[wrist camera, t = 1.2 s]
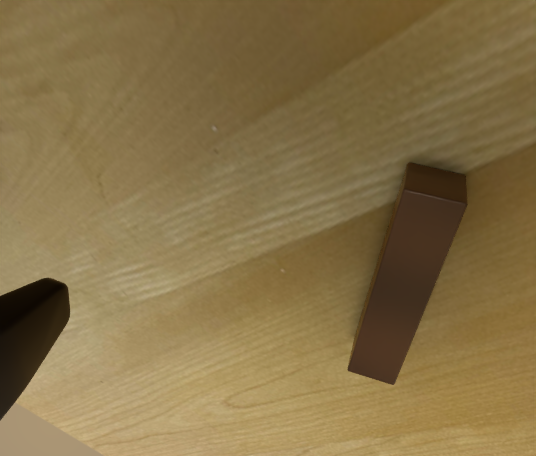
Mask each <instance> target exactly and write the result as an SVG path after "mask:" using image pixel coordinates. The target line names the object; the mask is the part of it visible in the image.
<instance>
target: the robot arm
mask: <svg viewBox="0 0 536 456" xmlns="http://www.w3.org/2000/svg"><path fill="white" fill-rule="evenodd" d="M69 317H70V304H69V293H68V287H67V286H66V284H64V283H62V282H60V281H57V280H54V279H52V278H43V279H40V280H38V281H36V282H33V283H31V284H28V285H26V286H23V287H21V288H19V289H16V290H14V291H11V292H9V293H6V294H4V295H1V296H0V420H1V419H2V418H3V416H4V415H5V414H6V413H7V411H8V410H9V409H10V408H11V406H12V405H13V404H14V403H15V401H16V400H17V399H18V397H19V396H20V395H21V394H22V392H23V391H24V389H25V388H26V387H27V385H28V384H29V382H30V381H31V379H32V378H33V376H34V374H35V373H36V371H37V370H38V368H39V367H40V365H41V363H42V362H43V360H44V359H45V357H46V356H47V354H48V353H49V351H50V349H51V348H52V346H53V345H54V343H55V342H56V340H57V338H58V337H59V335H60V334H61V332H62V331H63V329H64V328H65V326H66V324H67V322H68V320H69Z"/></svg>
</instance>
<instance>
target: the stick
mask: <svg viewBox="0 0 536 456" xmlns="http://www.w3.org/2000/svg"><path fill="white" fill-rule="evenodd" d="M466 207H467V187H466V176H465V175H462V174H458V173H453V172H449V171H445V170H440V169H436V168H431V167H427V166H423V165H418V164H414V163H408V164H407V167H406V170H405V173H404V176H403V180H402V183H401V186H400V190H399V193H398V196H397V200H396V203H395V206H394V209H393V213H392V216H391V219H390V223H389V226H388V229H387V232H386V236H385V239H384V242H383V246H382V249H381V252H380V255H379V259H378V262H377V265H376V269H375V272H374V275H373V278H372V282H371V285H370V288H369V292H368V295H367V298H366V301H365V305H364V308H363V311H362V315H361V318H360V321H359V325H358V328H357V331H356V334H355V338H354V342H353V347H352V351H351V356H350V360H349V365H348V371H350V372H353V373H356V374H359V375H363V376H366V377H369V378H372V379H376V380H379V381H382V382H385V383H388V384H392V385H394V384H395V382H396V379H397V377H398V374H399V372H400V369H401V367H402V364H403V362H404V360H405V357H406V355H407V352H408V350H409V347H410V345H411V342H412V340H413V337H414V335H415V332H416V330H417V328H418V325H419V323H420V320H421V318H422V315H423V313H424V310H425V308H426V305H427V303H428V300H429V298H430V296H431V293H432V291H433V288H434V286H435V283H436V281H437V278H438V276H439V273H440V271H441V268H442V266H443V264H444V261H445V259H446V256H447V254H448V251H449V249H450V246H451V244H452V241H453V239H454V236H455V234H456V232H457V229H458V227H459V224H460V222H461V219H462V217H463V214H464V212H465V209H466Z"/></svg>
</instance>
